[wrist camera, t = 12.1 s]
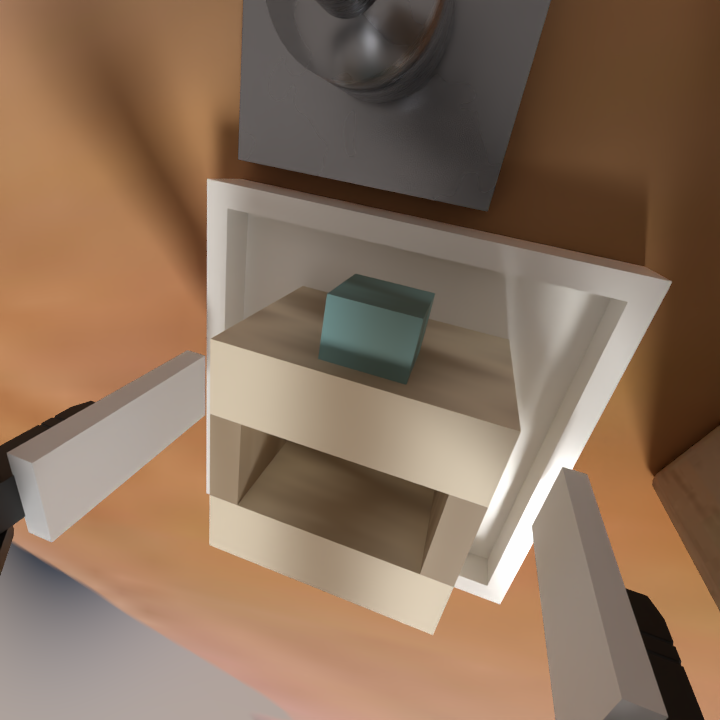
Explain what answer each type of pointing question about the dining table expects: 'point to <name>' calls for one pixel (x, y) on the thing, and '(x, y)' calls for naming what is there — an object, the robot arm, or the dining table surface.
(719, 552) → the wooden block
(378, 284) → the collar
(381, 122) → the grey lever faucet
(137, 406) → the robot arm
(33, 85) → the dining table surface
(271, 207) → the tray
